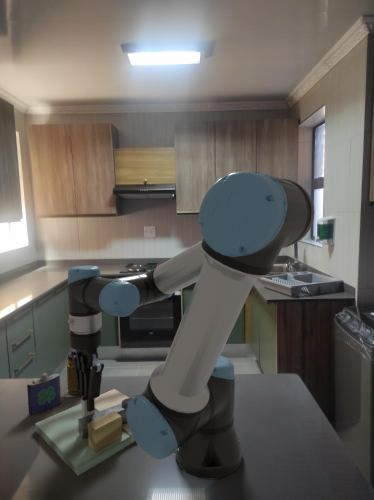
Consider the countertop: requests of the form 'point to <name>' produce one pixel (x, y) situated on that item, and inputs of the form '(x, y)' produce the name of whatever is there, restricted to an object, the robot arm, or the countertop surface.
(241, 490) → the countertop surface
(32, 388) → the flask
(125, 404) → the latch bar
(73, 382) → the condiment
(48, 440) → the two-tone base plate
